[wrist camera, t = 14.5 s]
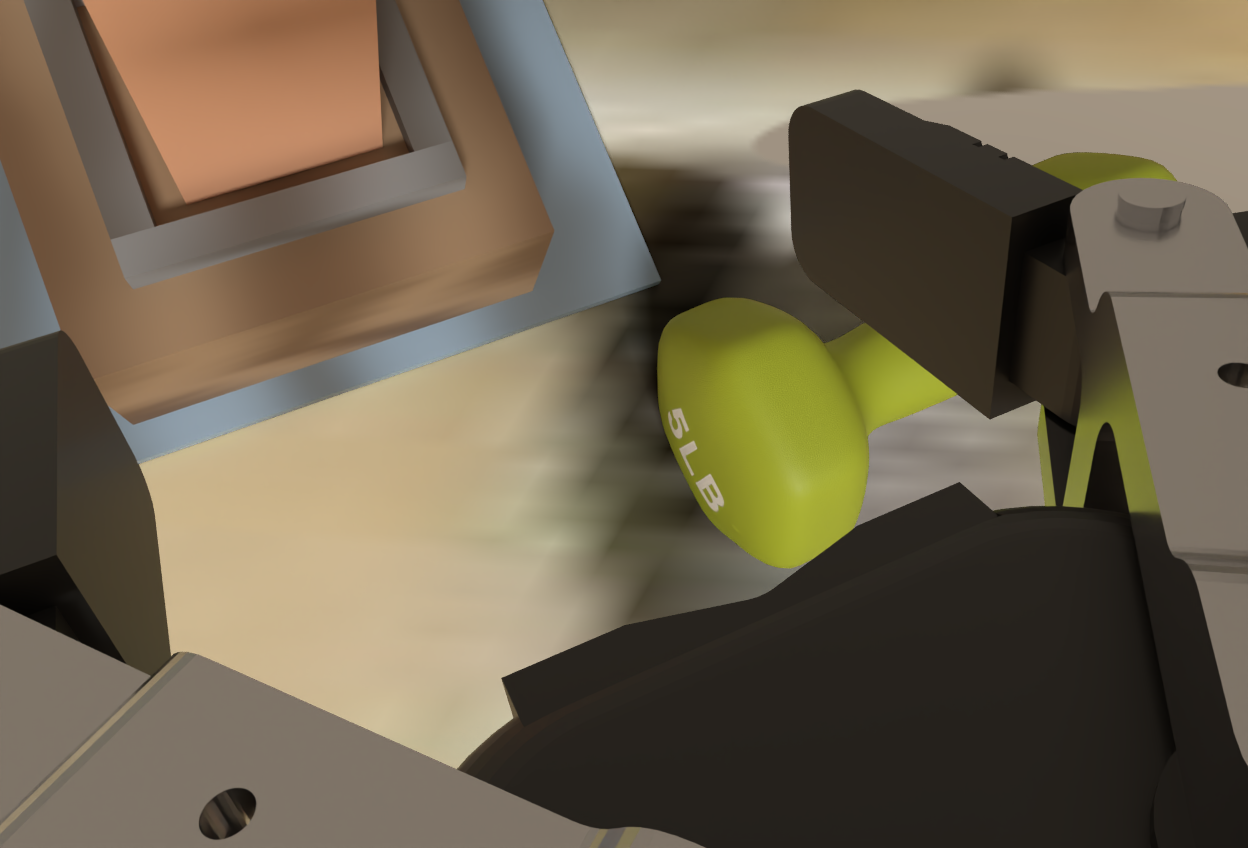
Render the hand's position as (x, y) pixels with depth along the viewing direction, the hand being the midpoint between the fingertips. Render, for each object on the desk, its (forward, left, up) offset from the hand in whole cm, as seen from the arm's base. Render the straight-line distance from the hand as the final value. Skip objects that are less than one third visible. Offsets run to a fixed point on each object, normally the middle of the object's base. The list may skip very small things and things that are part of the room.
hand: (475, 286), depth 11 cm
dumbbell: (-15, +1, -21) cm, 25 cm away
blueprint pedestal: (+1, -11, -20) cm, 23 cm away
